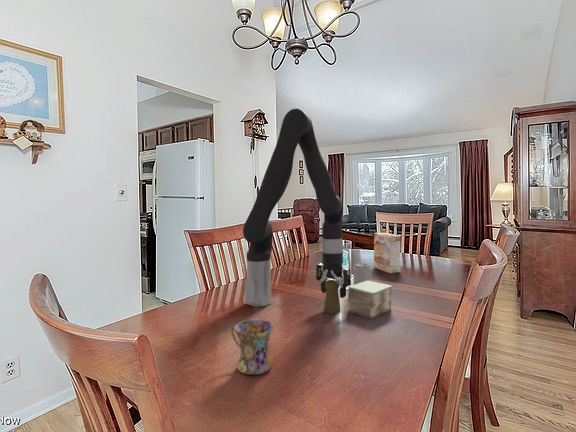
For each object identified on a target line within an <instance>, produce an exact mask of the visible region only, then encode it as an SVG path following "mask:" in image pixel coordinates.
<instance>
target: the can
mask: <svg viewBox="0 0 576 432" xmlns="http://www.w3.org/2000/svg"><path fill="white" fill-rule="evenodd" d="M370 265H371V264H369V263H366V262H365V263H364V262H362V263H361V262H359V263H355V264H354V266H353V268H352V269H353V271H352V274H353V281H352V282H353V284H352V285H355V284H358V283H361V282H364V281H367V280H369V281H372V267H371V266H370Z"/></svg>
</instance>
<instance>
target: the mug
mask: <svg viewBox="0 0 576 432" xmlns="http://www.w3.org/2000/svg"><path fill="white" fill-rule="evenodd" d="M273 328H274V326H273V324H272V322H270V321H268V320H265V319H254V318H253V319H247V320H243V321H240V322H239V323H237V324H235V326H232V328H231V331H230V333H231V336H232V339H233V341H234V342H235V344H236V346H238V347H239V349H240V356H239V360H238V362H237V365H236V367H237V370H238V371H239V372H240V373H242V374H245V375H251V376H257V375H261V374H264V373H266V372H268V371H269V370H270V369H271V367H272V364H273V363H272V360H271V358H270V355H269V348H268V347H269V341H270V335H271V333H272V331H273ZM235 333H236V335H235ZM236 336H237V337H236ZM237 338H238V339H237Z"/></svg>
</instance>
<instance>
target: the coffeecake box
mask: <svg viewBox="0 0 576 432" xmlns="http://www.w3.org/2000/svg"><path fill="white" fill-rule="evenodd" d="M373 235H374V237H373V268H375V269H378V270H380V271H383V272H386V273H387V274H394V273H400V272H401V237H402V235H397V234H393V233H388V232H374V234H373Z"/></svg>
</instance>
